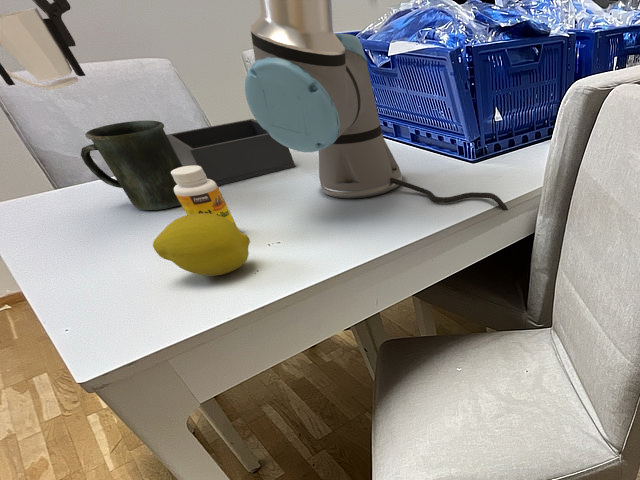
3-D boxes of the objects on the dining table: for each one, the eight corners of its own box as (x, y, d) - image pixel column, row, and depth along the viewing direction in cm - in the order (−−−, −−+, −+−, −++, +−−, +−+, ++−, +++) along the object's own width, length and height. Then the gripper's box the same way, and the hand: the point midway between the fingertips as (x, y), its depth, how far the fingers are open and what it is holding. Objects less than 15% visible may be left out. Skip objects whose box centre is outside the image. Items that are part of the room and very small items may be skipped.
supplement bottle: (213, 249, 68) (174, 178, 61) (195, 240, 71) (156, 171, 63) (247, 236, 71) (214, 167, 64) (229, 228, 74) (196, 161, 67)
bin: (295, 166, 97) (282, 131, 92) (209, 188, 88) (190, 150, 83) (265, 151, 105) (252, 118, 100) (184, 170, 96) (165, 134, 92)
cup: (74, 87, 64) (18, 14, 58) (5, 100, 63) (-60, 28, 57) (97, 73, 68) (47, 4, 62) (32, 85, 68) (-25, 18, 62)
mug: (188, 209, 80) (147, 134, 72) (100, 217, 78) (46, 140, 70) (209, 188, 88) (173, 118, 79) (128, 195, 86) (83, 124, 78)
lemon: (267, 255, 66) (241, 200, 61) (255, 281, 61) (226, 223, 55) (188, 264, 65) (154, 208, 59) (169, 291, 59) (130, 233, 54)
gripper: (-2, -157, 56) (121, 67, 72) (-258, -178, 46) (-49, 88, 62) (5, -168, 52) (133, 71, 68) (-273, -194, 42) (-46, 94, 58)
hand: (47, 79), depth 65 cm, fingers closed on cup, 8 cm apart
